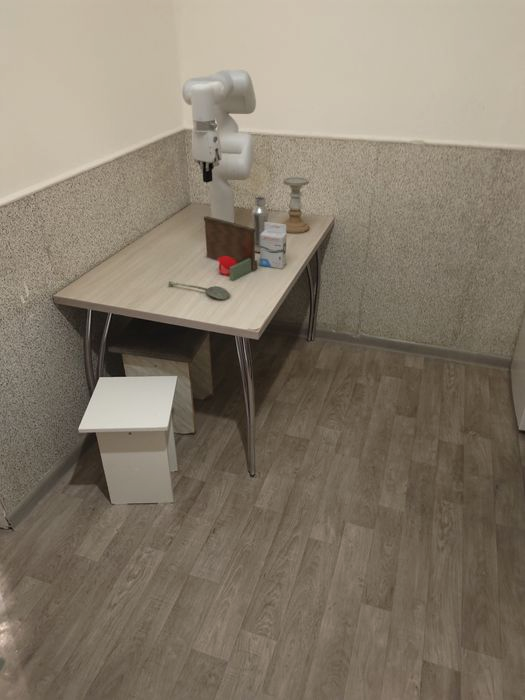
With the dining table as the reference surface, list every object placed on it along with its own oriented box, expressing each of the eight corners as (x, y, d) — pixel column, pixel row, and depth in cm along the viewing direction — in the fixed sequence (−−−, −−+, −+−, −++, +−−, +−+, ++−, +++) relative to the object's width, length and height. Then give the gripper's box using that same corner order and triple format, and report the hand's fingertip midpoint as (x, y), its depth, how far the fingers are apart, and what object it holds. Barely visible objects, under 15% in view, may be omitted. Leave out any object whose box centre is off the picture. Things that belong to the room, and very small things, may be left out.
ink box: (259, 266, 183) (259, 225, 175) (263, 260, 187) (263, 221, 179) (282, 269, 181) (282, 228, 173) (286, 263, 185) (287, 224, 177)
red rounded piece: (241, 271, 179) (241, 255, 176) (235, 277, 174) (235, 261, 171) (220, 268, 181) (219, 252, 178) (214, 274, 177) (213, 258, 173)
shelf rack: (186, 265, 184) (183, 224, 176) (211, 254, 192) (209, 214, 184) (235, 281, 172) (233, 238, 164) (258, 269, 181) (258, 227, 173)
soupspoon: (222, 304, 159) (232, 297, 164) (223, 294, 157) (233, 287, 162) (164, 289, 167) (175, 282, 172) (163, 279, 165) (175, 273, 170)
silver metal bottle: (271, 249, 197) (271, 197, 186) (264, 255, 192) (264, 202, 181) (256, 246, 199) (255, 195, 188) (248, 252, 194) (247, 199, 183)
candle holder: (314, 227, 218) (316, 178, 208) (300, 235, 210) (302, 185, 199) (289, 222, 224) (290, 175, 213) (274, 230, 215) (275, 181, 204)
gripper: (228, 126, 169) (230, 182, 179) (195, 121, 176) (199, 175, 186) (213, 130, 164) (216, 187, 174) (180, 124, 171) (185, 180, 181)
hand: (207, 181), depth 180 cm, fingers closed
